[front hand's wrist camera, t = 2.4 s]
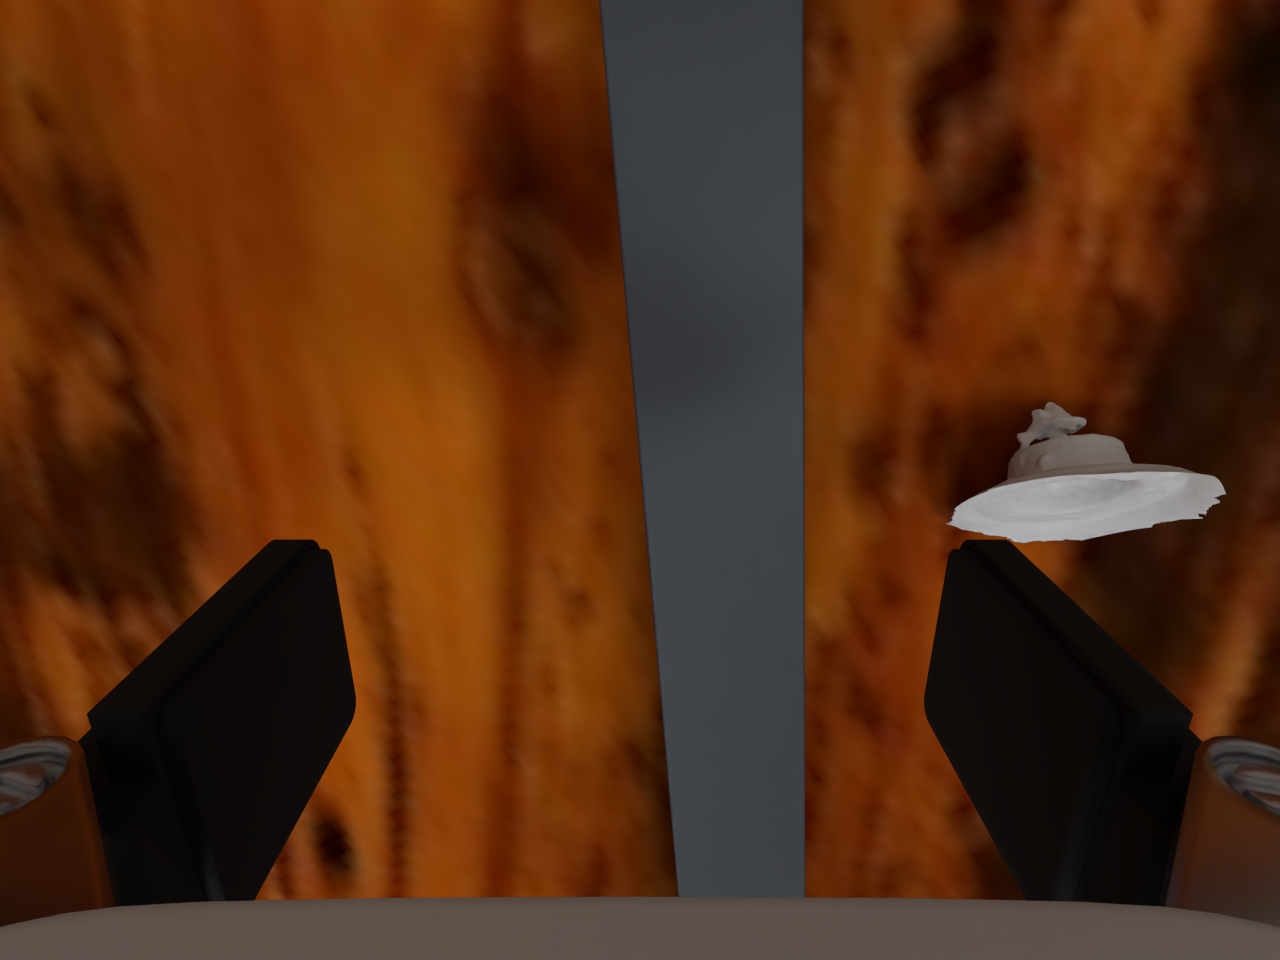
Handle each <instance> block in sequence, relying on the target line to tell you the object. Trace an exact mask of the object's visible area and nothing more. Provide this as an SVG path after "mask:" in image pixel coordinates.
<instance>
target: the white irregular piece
mask: <svg viewBox="0 0 1280 960" xmlns="http://www.w3.org/2000/svg"><path fill="white" fill-rule="evenodd" d="M1032 418H1033V421H1032V424H1031V426H1030V427H1029V428H1028V429H1027V431H1026V432H1023V433H1018V434H1017V440H1018V441H1019V442H1020V443H1021V446H1020V449H1019V451H1016V452H1015V453H1014V456H1013V457H1012V458H1011V460H1010V462H1009V465H1008V477H1007V478H1008V479H1007V480H1006V481H1004V482H1002V483H1000V484H998V485H996V486H994V487H992V488H990V489H987V490H985V491H983V492H981V493H979V494H977V495H976V496H974V497H972V498H970V499H968V500H967V501H965V502H963V503H961V504H960V505H958V506H957V507H956V508H955V509H954V510H956V511H955V512H954V513H955V514H954V515H953V517H952V518H951V519H952V520H953V521H951V522H950V523H947V524H949V525H953V526H956V527H958V528H960V529H962V530H969V531H974V532H982V533H983V534H984V535H985V534H987V535H995V536H1002V537H1003V536H1005V537H1007V539H1011V541H1014V542H1021V543H1025V542H1031V541H1050V540H1065V539H1069V540H1085V539H1089V538H1094V537H1099V536H1103V535H1108V534H1113V533H1117V532H1122V531H1128V530H1134V529H1140V528H1149V527H1152V526H1153V524H1156V523H1160V522H1167V521H1176V520H1180V519H1202V517H1199V516H1198V513H1199V514H1205V515H1206V513H1207V512H1206V510H1208V508H1209V507H1211V505H1213V504H1217V503H1220V502H1219V500H1217V499H1216V498H1214V497H1218V496H1220V495H1224V494H1226V493H1225V490H1224V488H1223V486H1222V484H1221V482H1220V481H1219V480H1218V479H1217V478H1216V477H1214V476H1210V475H1203V474H1198V473H1194V472H1192V471H1189V470H1186V469H1183V468H1180V467H1172V466H1168V465H1153V464H1132V462H1131V461H1130V458H1129V455H1128V453H1127V452H1126V450H1125V447H1124V444H1123V442H1122V441H1120V440H1119V439H1116V438H1114V437H1111V436H1106V435H1099V434H1083V435H1071V436H1067V434H1068V433H1069V434H1070V433H1071V434H1072V433H1075V431H1077V430H1079V429H1081V428H1082V427H1084V426H1085V425H1086V422H1087V421H1086V419H1085V418H1082V417H1071V415H1070V414H1068V413H1067V412H1066V411H1064V409H1063V408H1061V407H1059V406H1058V405H1056V404H1055V403H1053V402H1048V403H1047V404H1046V406H1045V408H1044V410H1042V409H1037V410H1033V411H1032ZM1048 437H1049V439H1050V440H1046V441H1043V442H1040V443H1037V444H1034V445H1031V446H1029V444H1030V443H1031V442H1032V441H1033V440H1034V439H1039V440H1041V439H1043V438H1048Z"/></svg>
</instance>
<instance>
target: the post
mask: <svg viewBox="0 0 1280 960" xmlns="http://www.w3.org/2000/svg"><path fill="white" fill-rule="evenodd" d="M599 5H600V16H601V27H602V39H603V50H604V61H605V73H606V84H607V95H608V107H609V118H610V129H611V141H612V152H613V163H614V175H615V186H616V197H617V209H618V220H619V231H620V243H621V254H622V265H623V277H624V288H625V299H626V311H627V322H628V333H629V345H630V356H631V367H632V379H633V390H634V401H635V413H636V424H637V435H638V447H639V458H640V469H641V481H642V492H643V503H644V515H645V526H646V537H647V549H648V560H649V571H650V583H651V594H652V605H653V617H654V628H655V639H656V651H657V662H658V673H659V685H660V696H661V707H662V719H663V730H664V742H665V753H666V764H667V776H668V787H669V798H670V810H671V821H672V832H673V844H674V855H675V866H676V878H677V889H678V897H789V898H805V591H804V116H803V0H599Z"/></svg>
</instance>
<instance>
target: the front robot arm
mask: <svg viewBox="0 0 1280 960" xmlns="http://www.w3.org/2000/svg"><path fill="white" fill-rule="evenodd" d="M355 707H356V696H355V689H354V684H353V678H352V672H351V666H350V660H349V654H348V649H347V643H346V637H345V631H344V625H343V619H342V614H341V608H340V602H339V596H338V590H337V585H336V579H335V573H334V567H333V561H332V557H331V554H330V552H329V551H328V550H327V549H320V547H319V545H318V544H317V542H316V541H314V540H273V541H271V542H269V543H268V544H267V545H266V546H265V547H264V548H263V549H262V550H261V551H260V552H259V553H258V554H257V555H255V556H254V557H253V558H252V559H251V560H250V561H249V562H248V563H247V564H246V565H245V566H244V567H243V568H242V569H241V570H239V571H238V572H237V573H236V574H235V575H234V576H233V577H232V578H231V579H230V580H229V581H228V582H227V583H226V584H225V585H223V586H222V587H221V588H220V589H219V590H218V591H217V592H216V593H215V594H214V595H213V596H212V597H211V598H210V599H209V600H208V601H206V602H205V603H204V604H203V605H202V606H201V607H200V608H199V609H198V610H197V611H196V612H195V613H194V614H193V615H192V616H190V617H189V618H188V619H187V620H186V621H185V622H184V623H183V624H182V625H181V626H180V627H179V628H178V629H177V630H176V631H174V632H173V633H172V634H171V635H170V636H169V637H168V638H167V639H166V640H165V641H164V642H163V643H162V644H161V645H160V646H159V647H157V648H156V649H155V650H154V651H153V652H152V653H151V654H150V655H149V656H148V657H147V658H146V659H145V660H144V661H143V662H141V663H140V664H139V665H138V666H137V667H136V668H135V669H134V670H133V671H132V672H131V673H130V674H129V675H128V676H127V677H125V678H124V679H123V680H122V681H121V682H120V683H119V684H118V685H117V686H116V687H115V688H114V689H113V690H112V691H111V692H110V693H108V694H107V695H106V696H105V697H104V698H103V699H102V700H101V701H100V702H99V703H98V704H97V705H96V706H95V707H94V708H92V709H91V710H90V711H89V712H88V713H87V716H88V719H89V722H90V725H91V729H90V730H89V731H88V732H87V733H86V734H85V735H84V736H83V737H82V738H81V739H80V740H79V741H78V742H77V741H75V740H72V739H70V738H67V737H62V736H40V737H33V738H25V739H21V740H18V741H14V742H11V743H7V744H4V745H0V960H1280V745H1276V744H1273V743H1269V742H1266V741H1262V740H1259V739H1255V738H1247V737H1240V736H1218V737H1213V738H1210V739H1208V740H1205V741H1203V742H1202V741H1201V740H1200V739H1199V738H1198V737H1197V736H1196V735H1195V734H1194V733H1193V732H1192V731H1191V730H1190V729H1189V725H1190V722H1191V719H1192V716H1193V713H1192V712H1191V711H1190V710H1189V709H1188V708H1186V707H1185V706H1184V705H1183V704H1182V703H1181V702H1180V701H1179V700H1178V699H1177V698H1176V697H1175V696H1174V695H1173V694H1172V693H1170V692H1169V691H1168V690H1167V689H1166V688H1165V687H1164V686H1163V685H1162V684H1161V683H1160V682H1159V681H1158V680H1157V679H1156V678H1155V677H1153V676H1152V675H1151V674H1150V673H1149V672H1148V671H1147V670H1146V669H1145V668H1144V667H1143V666H1142V665H1141V664H1140V663H1139V662H1137V661H1136V660H1135V659H1134V658H1133V657H1132V656H1131V655H1130V654H1129V653H1128V652H1127V651H1126V650H1125V649H1124V648H1123V647H1121V646H1120V645H1119V644H1118V643H1117V642H1116V641H1115V640H1114V639H1113V638H1112V637H1111V636H1110V635H1109V634H1108V633H1107V632H1106V631H1104V630H1103V629H1102V628H1101V627H1100V626H1099V625H1098V624H1097V623H1096V622H1095V621H1094V620H1093V619H1092V618H1091V617H1090V616H1088V615H1087V614H1086V613H1085V612H1084V611H1083V610H1082V609H1081V608H1080V607H1079V606H1078V605H1077V604H1076V603H1075V602H1074V601H1072V600H1071V599H1070V598H1069V597H1068V596H1067V595H1066V594H1065V593H1064V592H1063V591H1062V590H1061V589H1060V588H1059V587H1058V586H1057V585H1055V584H1054V583H1053V582H1052V581H1051V580H1050V579H1049V578H1048V577H1047V576H1046V575H1045V574H1044V573H1043V572H1042V571H1041V570H1039V569H1038V568H1037V567H1036V566H1035V565H1034V564H1033V563H1032V562H1031V561H1030V560H1029V559H1028V558H1027V557H1026V556H1025V555H1023V554H1022V553H1021V552H1020V551H1019V550H1018V549H1017V548H1016V547H1015V546H1014V545H1013V544H1012V543H1011V542H1009V541H1007V540H966V541H964V542H963V544H962V545H961V547H960V549H953V550H952V551H951V552H950V554H949V557H948V561H947V567H946V573H945V579H944V585H943V590H942V596H941V602H940V608H939V614H938V619H937V625H936V631H935V637H934V643H933V649H932V654H931V660H930V666H929V672H928V678H927V684H926V689H925V696H924V707H925V713H926V717H927V720H928V722H929V724H930V726H931V728H932V729H933V731H934V733H935V735H936V737H937V739H938V740H939V742H940V744H941V746H942V748H943V750H944V751H945V753H946V755H947V757H948V759H949V761H950V762H951V764H952V766H953V768H954V770H955V772H956V773H957V775H958V777H959V779H960V781H961V783H962V784H963V786H964V788H965V790H966V792H967V794H968V795H969V797H970V799H971V801H972V803H973V804H974V806H975V808H976V810H977V812H978V814H979V815H980V817H981V819H982V821H983V823H984V825H985V826H986V828H987V830H988V832H989V834H990V836H991V837H992V839H993V841H994V843H995V845H996V847H997V848H998V850H999V852H1000V854H1001V856H1002V858H1003V859H1004V861H1005V863H1006V865H1007V867H1008V868H1009V870H1010V872H1011V874H1012V876H1013V878H1014V879H1015V881H1016V883H1017V885H1018V887H1019V889H1020V890H1021V892H1022V894H1023V896H1024V898H1025V900H1026V901H1017V900H966V899H916V898H789V897H492V898H364V899H314V900H263V901H254V900H255V898H256V896H257V894H258V892H259V890H260V889H261V887H262V885H263V883H264V881H265V879H266V878H267V876H268V874H269V872H270V870H271V868H272V867H273V865H274V863H275V861H276V859H277V858H278V856H279V854H280V852H281V850H282V848H283V847H284V845H285V843H286V841H287V839H288V837H289V836H290V834H291V832H292V830H293V828H294V826H295V825H296V823H297V821H298V819H299V817H300V815H301V814H302V812H303V810H304V808H305V806H306V804H307V803H308V801H309V799H310V797H311V795H312V794H313V792H314V790H315V788H316V786H317V784H318V783H319V781H320V779H321V777H322V775H323V773H324V772H325V770H326V768H327V766H328V764H329V762H330V761H331V759H332V757H333V755H334V753H335V751H336V750H337V748H338V746H339V744H340V742H341V740H342V739H343V737H344V735H345V733H346V731H347V729H348V728H349V726H350V724H351V722H352V720H353V717H354V713H355Z"/></svg>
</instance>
